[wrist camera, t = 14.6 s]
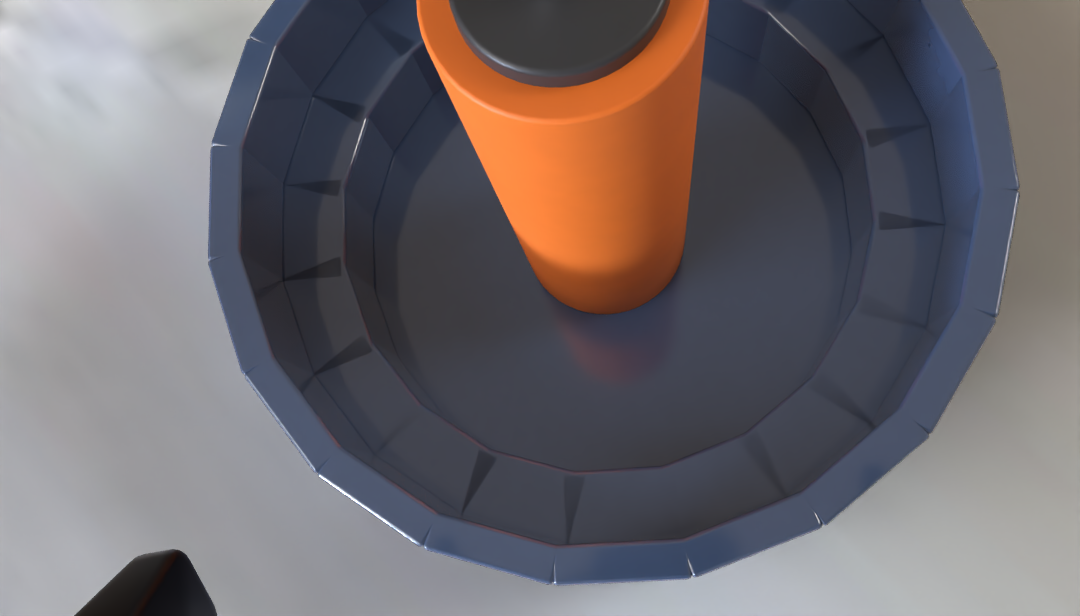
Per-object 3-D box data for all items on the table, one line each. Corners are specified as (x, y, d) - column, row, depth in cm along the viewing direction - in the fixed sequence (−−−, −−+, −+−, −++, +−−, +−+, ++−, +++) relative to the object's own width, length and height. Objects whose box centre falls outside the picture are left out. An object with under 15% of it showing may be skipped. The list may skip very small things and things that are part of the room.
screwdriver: (638, 342, 19) (602, -29, 6) (498, 271, 20) (210, -197, 7) (712, 203, 20) (819, -405, 7) (573, 138, 20) (431, -529, 7)
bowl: (562, 716, 18) (533, 776, 14) (187, 215, 22) (68, 136, 17) (1080, 274, 19) (1207, 199, 15) (642, -148, 22) (638, -312, 18)
